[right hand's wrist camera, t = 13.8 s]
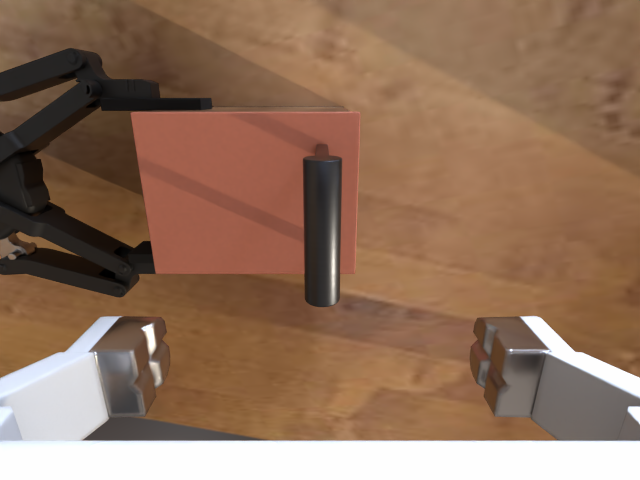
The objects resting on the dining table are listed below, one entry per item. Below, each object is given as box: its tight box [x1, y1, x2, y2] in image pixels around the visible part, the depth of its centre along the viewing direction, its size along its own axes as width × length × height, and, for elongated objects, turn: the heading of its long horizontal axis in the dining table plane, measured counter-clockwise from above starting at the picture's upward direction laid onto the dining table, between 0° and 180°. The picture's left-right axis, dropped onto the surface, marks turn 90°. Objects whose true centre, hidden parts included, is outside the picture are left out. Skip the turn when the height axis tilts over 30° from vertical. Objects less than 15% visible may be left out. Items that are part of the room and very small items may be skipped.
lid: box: [130, 112, 360, 307], centre depth 21 cm, size 13×10×8 cm
